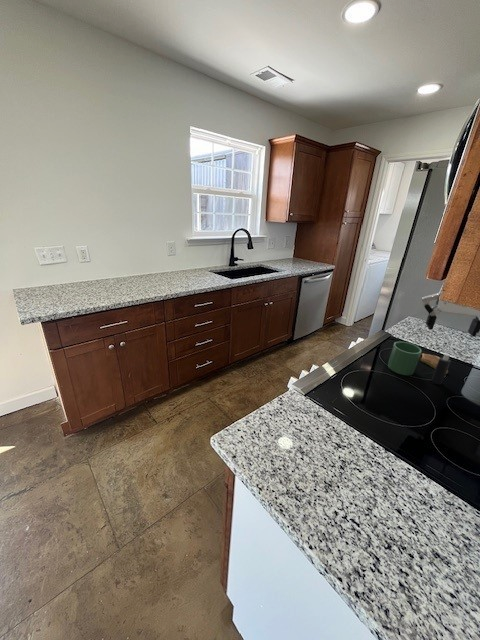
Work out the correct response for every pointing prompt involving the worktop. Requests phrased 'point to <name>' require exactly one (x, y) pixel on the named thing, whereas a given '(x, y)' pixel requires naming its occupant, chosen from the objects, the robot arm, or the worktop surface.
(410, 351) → the green cup
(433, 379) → the dark bottle
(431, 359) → the shard
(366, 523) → the worktop surface
